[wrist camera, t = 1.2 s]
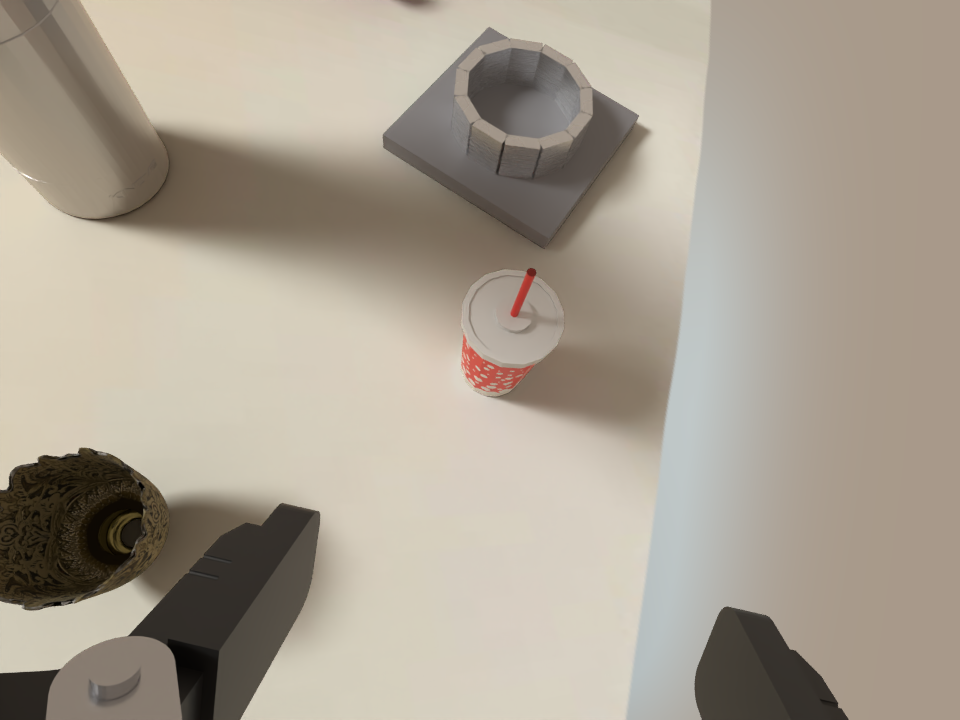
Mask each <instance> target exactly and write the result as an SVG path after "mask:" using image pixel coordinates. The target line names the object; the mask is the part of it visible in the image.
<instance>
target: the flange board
mask: <svg viewBox="0 0 960 720" xmlns="http://www.w3.org/2000/svg"><path fill="white" fill-rule="evenodd" d="M504 39H508V40H509V41H510V39H509V38H507V37H505V36H504V35H502V34H500V33H499V32H497V31H495V30H494V29H492V28H490V27H488V29H487V30H486V31H485V32H484V33H483V34H482V35H481V36H480V37H479V38H478V39H477V40H476V41H475V42H474V43H473V44H472V45H471V46H470V47H469V48H468V49H467V50H466V51H465V52H464V53H463V54H462V55H461V56H460V57H459V58H458V59H457V60H456V61H455V62H454V63H453V64H452V65H451V66H450V67H449V68H448V69H447V70H446V71H445V72H444V73H443V74H442V75H441V76H440V77H439V78H438V79H437V80H436V81H435V82H434V83H433V84H432V85H431V86H430V87H429V88H428V89H427V90H426V91H425V92H424V93H423V94H422V95H421V96H420V97H419V98H418V99H417V100H416V101H415V102H414V103H413V104H412V105H411V106H410V107H409V108H408V109H407V110H406V111H405V112H404V113H403V114H402V115H401V117H400V118H399V119H398V120H397V121H396V122H395V123H394V124H393V125H392V126H391V127H390V128H389V129H388V130H387V131H386V132H385V133H384V134H383V147H384V148H385V149H387V150H388V151H390V152H391V153H393V154H395V155H396V156H398V157H399V158H401V159H402V160H404V161H406V162H407V163H409V164H410V165H412V166H414V167H415V168H417V169H418V170H420V171H422V172H423V173H425V174H426V175H428V176H429V177H431V178H433V179H434V180H436V181H437V182H439V183H441V184H442V185H444V186H445V187H447V188H448V189H450V190H452V191H453V192H455V193H456V194H458V195H460V196H461V197H463V198H464V199H466V200H468V201H469V202H471V203H472V204H474V205H475V206H477V207H479V208H480V209H482V210H483V211H485V212H487V213H488V214H490V215H491V216H493V217H494V218H496V219H498V220H499V221H501V222H502V223H504V224H506V225H507V226H509V227H510V228H512V229H513V230H515V231H517V232H518V233H520V234H521V235H523V236H525V237H526V238H528V239H529V240H531V241H533V242H534V243H536V244H537V245H539V246H540V247H542V248H544V249H545V247H546V246H547V245H548V243H549V242H550V241H551V239H552V238H553V237H554V235H555V234H556V232H557V231H558V230H559V228H560V227H561V226H562V224H563V223H564V221H565V220H566V219H567V217H568V216H569V215H570V213H571V212H572V211H573V209H574V208H575V206H576V205H577V204H578V202H579V201H580V200H581V198H582V197H583V195H584V194H585V193H586V191H587V190H588V189H589V187H590V186H591V185H592V183H593V182H594V180H595V179H596V178H597V176H598V175H599V174H600V172H601V171H602V170H603V168H604V167H605V165H606V164H607V163H608V161H609V160H610V159H611V157H612V156H613V154H614V153H615V152H616V150H617V149H618V148H619V146H620V145H621V144H622V142H623V141H624V139H625V138H626V137H627V135H628V134H629V133H630V131H631V130H632V128H633V127H634V125H635V123H636V121H637V119H638V117H639V115H637V114H636V113H634V112H632V111H631V110H629V109H627V108H626V107H624V106H622V105H620V104H619V103H617V102H615V101H614V100H612V99H610V98H609V97H607V96H605V95H604V94H602V93H600V92H598V91H597V90H595V89H593V88H592V87H591V88H592V101H593V115H592V118H591V120H590V123H589V125H588V128H587V130H586V133H585V135H584V137H583V140H582V142H581V145H580V147H579V149H578V150H577V151H576V153H575V154H574V155H573V157H572V158H571V159H570V160H569V162H568V163H567V164H566V166H565V167H564V168H562V170H559V171H556V172H553V173H550V174H547V175H544V176H542V177H539V178H536V179H533V178H532V177H531V180H530V179H522V178H515V177H507V176H499V175H498V172H497V173H496V174H494V173H492V172H491V171H489V170H487V169H486V168H484V167H483V166H481V165H479V164H478V163H476V162H475V161H473V160H471V159H470V158H468V155H465V153H464V151H463V150H462V148H461V146H460V145H459V143H458V141H457V139H456V138H455V136H454V134H453V132H452V131H451V130H452V128H451V122H452V112H453V101H454V91H455V81H456V70H457V68H458V66H459V65H460V64H461V63H462V62H463V61H464V60H465V59H466V58H467V57H468V56H469V54H470V53H471V52H472V51H473V50H474V49H475V48H478V47H479V46H481V45H485V44H489V43H493V42H497V41H500V40H504ZM470 101H471V102H472V104H473V106H474V107H475V109H476V111H477V112H478V114H479V116H480V117H481V119H483V120H485V121H486V122H488V123H490V124H491V125H493V126H495V127H496V128H498V129H499V130H501V131H503V132H504V133H506V134H508V135H516V136H523V137H530V138H538V139H539V138H542V137H545V136H548V135H551V134H554V133H558V132H561V131H564V130H566V129H567V127H568V119H567V118H566V116H565V115H564V113H563V112H562V110H561V109H560V107H559V106H558V104H557V103H556V101H555V100H554V99H552V98H550V97H549V96H547V95H545V94H544V93H542V92H540V91H539V90H537V89H535V88H533V87H532V86H525V85H518V84H511V83H502V84H498V85H495V86H491V87H488V88H484V89H481V90H480V91H479V92H478V93H477V94H476V95H475V96H474V97H473V98H472V99H471V100H470Z"/></svg>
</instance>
